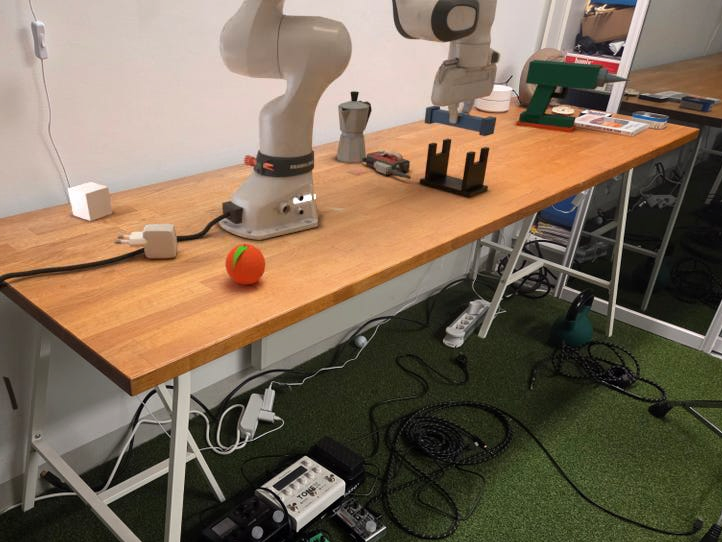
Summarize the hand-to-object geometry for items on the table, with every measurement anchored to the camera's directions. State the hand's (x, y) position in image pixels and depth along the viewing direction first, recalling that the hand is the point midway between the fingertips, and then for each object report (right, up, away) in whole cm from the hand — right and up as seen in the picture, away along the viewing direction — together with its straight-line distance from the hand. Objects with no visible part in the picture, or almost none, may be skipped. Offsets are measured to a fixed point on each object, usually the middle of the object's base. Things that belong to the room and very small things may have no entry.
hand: (458, 121), depth 144 cm
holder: (+1, -13, +10) cm, 16 cm away
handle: (0, -1, +1) cm, 2 cm away
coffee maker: (-22, +1, +31) cm, 39 cm away
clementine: (-47, -43, -37) cm, 74 cm away
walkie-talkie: (-13, -6, +21) cm, 25 cm away
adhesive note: (-84, -24, -8) cm, 88 cm away
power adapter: (-67, -37, -27) cm, 81 cm away
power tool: (+53, +22, +64) cm, 86 cm away
